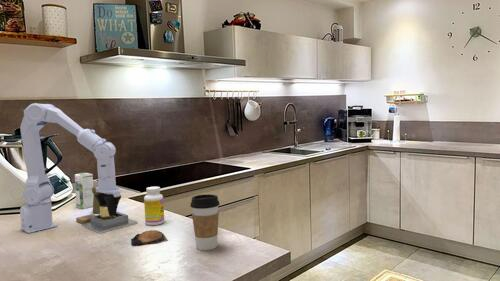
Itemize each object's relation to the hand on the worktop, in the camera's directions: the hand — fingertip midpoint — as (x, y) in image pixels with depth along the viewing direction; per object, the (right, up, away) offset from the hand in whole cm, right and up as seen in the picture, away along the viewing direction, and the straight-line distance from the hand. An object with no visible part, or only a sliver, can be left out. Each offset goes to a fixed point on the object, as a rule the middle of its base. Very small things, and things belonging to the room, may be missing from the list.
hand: (109, 214), depth 132 cm
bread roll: (+19, -5, -18) cm, 27 cm away
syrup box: (-21, -3, +28) cm, 35 cm away
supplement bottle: (+16, -4, 0) cm, 17 cm away
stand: (-10, -4, +6) cm, 12 cm away
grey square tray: (0, -4, 0) cm, 4 cm away
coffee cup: (+38, -5, -25) cm, 46 cm away
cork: (-11, -3, +18) cm, 21 cm away
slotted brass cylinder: (0, -3, 0) cm, 3 cm away
